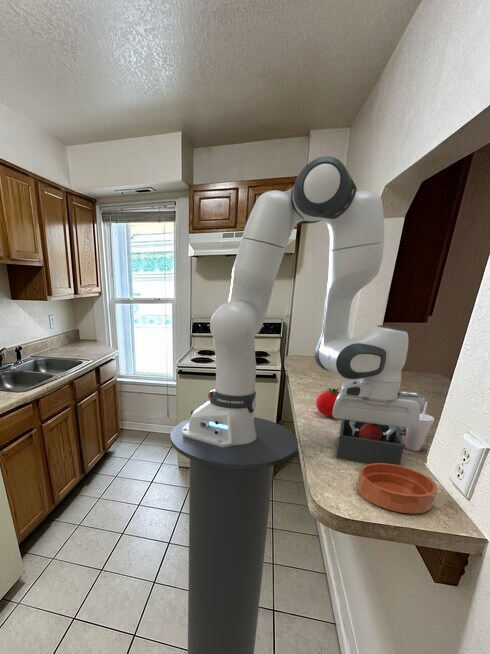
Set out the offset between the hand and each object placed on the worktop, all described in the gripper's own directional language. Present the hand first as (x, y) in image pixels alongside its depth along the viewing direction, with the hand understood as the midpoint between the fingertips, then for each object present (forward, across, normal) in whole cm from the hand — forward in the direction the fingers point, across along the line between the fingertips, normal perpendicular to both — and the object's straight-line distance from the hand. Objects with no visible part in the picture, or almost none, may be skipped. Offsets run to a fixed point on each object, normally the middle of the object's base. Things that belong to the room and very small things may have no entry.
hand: (369, 437), depth 97 cm
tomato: (+5, +11, -28) cm, 31 cm away
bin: (+5, 0, 0) cm, 5 cm away
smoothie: (+5, -12, -9) cm, 16 cm away
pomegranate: (+3, 0, 0) cm, 3 cm away
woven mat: (+5, -6, -23) cm, 24 cm away
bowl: (+5, -5, +22) cm, 23 cm away
